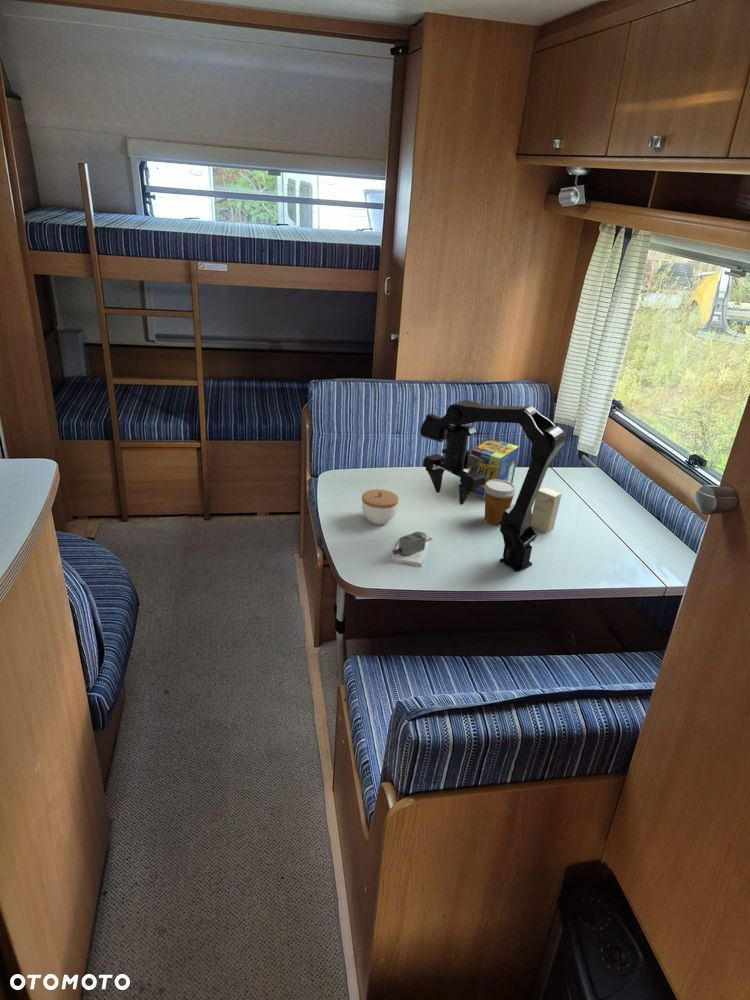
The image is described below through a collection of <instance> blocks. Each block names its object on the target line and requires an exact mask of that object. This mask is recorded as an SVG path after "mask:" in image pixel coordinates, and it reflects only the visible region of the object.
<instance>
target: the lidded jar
mask: <svg viewBox="0 0 750 1000" xmlns="http://www.w3.org/2000/svg"><path fill="white" fill-rule="evenodd" d="M361 500H362V501H361V508H362V513H363V515H364V517H365V518H366V519H367V520H369V521H368V522H369V523H370V522H371V523H370V524H372V523H373V525H376V524H377V525H376V526H382V525H381V524H384V525H387V524H388V523H389V522H390V521H391V520H393V518H394V517H395V515H396V512H397V510H398V503H399V496H398V495H397V494H396V493H394V492H392V491H389V490H386V489H378V488H377V489H370V490H367V491H365V492H363V494H362V495H361ZM386 523H387V524H386Z"/></svg>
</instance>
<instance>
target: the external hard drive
mask: <svg viewBox="0 0 750 1000" xmlns="http://www.w3.org/2000/svg"><path fill="white" fill-rule="evenodd" d="M429 545H430V541H428V542H425V549H424V550H422V551H420V552H417V553H415V554H412V555H410V556H402V555H400V554H399V553H398V554H396V555H394V554H393V553H392V554H393V555H392V557H391V559H390V561H391V562H394V561H395V563H400V564H407V563H408V565H411V566H416V565H418V567H422V564H423V563H424V559H425V556H426V553H427V550H428V548H429ZM396 549H399V541H398V542H397V545H396V547H395V549H394V550H396ZM422 562H423V563H422Z"/></svg>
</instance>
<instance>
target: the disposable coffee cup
mask: <svg viewBox="0 0 750 1000" xmlns="http://www.w3.org/2000/svg"><path fill="white" fill-rule="evenodd" d="M484 489H485V499H484V522H485V523H487V524H489V525H492V526H501V524H499V523H500V522H501V520H502V517H503V513H504V511H505V510H507V509H508V508H509V507H511V506H512V503H513V500H514V496H515V495H516V494H517V489H516V486H515V484H513V483H510V482H508V481H505V480H496V479H495V480H489V481H488V482H487V483H486V485H485V486H484Z"/></svg>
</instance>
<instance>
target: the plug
mask: <svg viewBox="0 0 750 1000" xmlns="http://www.w3.org/2000/svg"><path fill="white" fill-rule="evenodd" d="M398 539H399V540H398V542H399V549H396V548H395V549H396V550H395V549H394V550H393V551H392V554H394V555H396V554H398V553H399V554H400V555H402V556H410V555H412V554H415V553H417V552H420V551H422V550H424V549H425V542H431V541H432V540H433V537H432V536H431V535H429V534H428V533H427V534H426V533H425V532H422V531H414V532H412V533H409V534H407V535H404V536H400V538H398Z"/></svg>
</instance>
